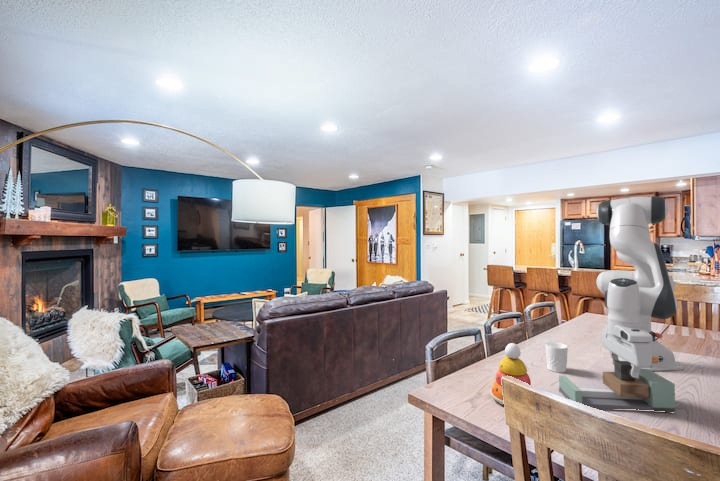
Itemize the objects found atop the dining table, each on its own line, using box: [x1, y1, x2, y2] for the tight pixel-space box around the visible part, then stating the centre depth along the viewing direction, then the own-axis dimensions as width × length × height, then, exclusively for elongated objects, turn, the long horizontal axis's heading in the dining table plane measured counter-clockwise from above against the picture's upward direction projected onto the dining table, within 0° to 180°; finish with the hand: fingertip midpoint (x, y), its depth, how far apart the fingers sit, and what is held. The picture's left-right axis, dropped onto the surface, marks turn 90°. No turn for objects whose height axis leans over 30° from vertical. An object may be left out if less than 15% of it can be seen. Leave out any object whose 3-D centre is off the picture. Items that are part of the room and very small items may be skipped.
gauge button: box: [649, 356, 659, 368], centre depth 109 cm, size 4×4×3 cm
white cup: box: [544, 341, 569, 374], centre depth 137 cm, size 8×8×10 cm
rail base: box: [558, 368, 676, 414], centre depth 111 cm, size 28×12×9 cm, turn 81°
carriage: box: [602, 361, 649, 398], centre depth 110 cm, size 8×10×9 cm
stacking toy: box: [489, 342, 532, 406], centre depth 113 cm, size 14×14×20 cm
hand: (624, 370), depth 110 cm, fingers open, 8 cm apart
